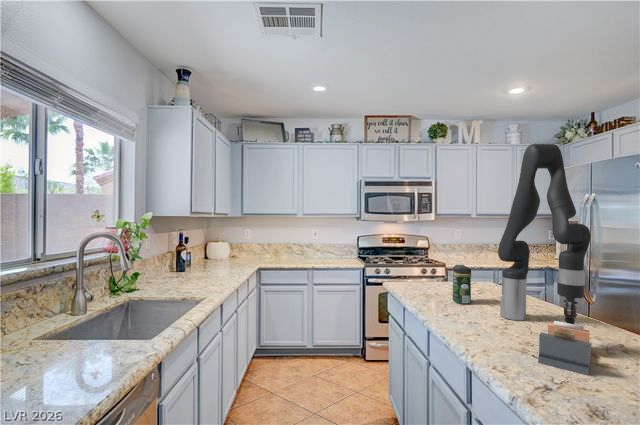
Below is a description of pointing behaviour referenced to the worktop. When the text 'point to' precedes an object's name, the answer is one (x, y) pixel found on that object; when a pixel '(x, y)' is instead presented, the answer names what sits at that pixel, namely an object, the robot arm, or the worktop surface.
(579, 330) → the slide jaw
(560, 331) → the walnut block
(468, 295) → the coffee jar
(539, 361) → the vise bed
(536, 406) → the worktop surface
